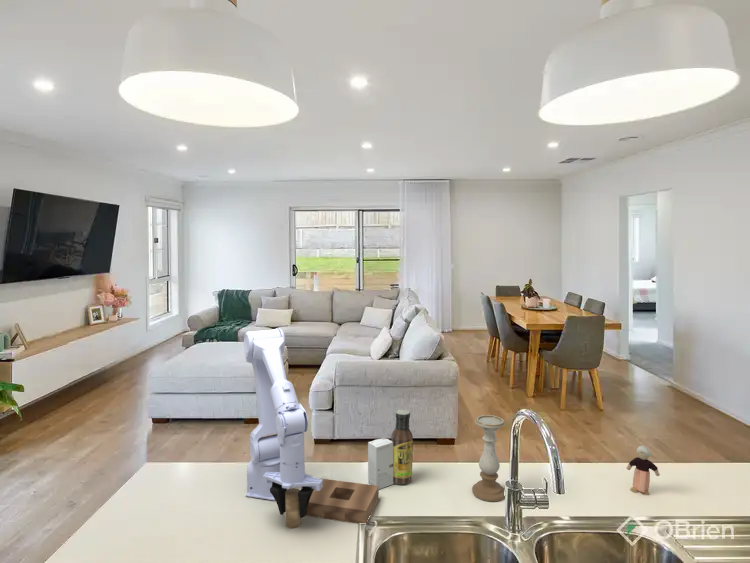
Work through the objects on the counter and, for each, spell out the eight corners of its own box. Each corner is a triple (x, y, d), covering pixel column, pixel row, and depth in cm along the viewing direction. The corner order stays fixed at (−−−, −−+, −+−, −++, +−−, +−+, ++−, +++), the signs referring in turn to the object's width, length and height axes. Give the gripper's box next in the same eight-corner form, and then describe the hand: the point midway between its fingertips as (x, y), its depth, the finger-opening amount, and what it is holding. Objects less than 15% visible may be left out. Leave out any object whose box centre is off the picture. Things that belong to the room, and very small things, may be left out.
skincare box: (376, 490, 130) (376, 447, 129) (367, 483, 133) (366, 442, 132) (394, 483, 133) (394, 441, 132) (385, 477, 137) (384, 436, 136)
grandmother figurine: (626, 492, 128) (628, 446, 127) (625, 485, 132) (627, 441, 131) (659, 498, 125) (662, 451, 124) (657, 491, 129) (659, 445, 128)
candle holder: (512, 498, 126) (514, 423, 124) (483, 504, 123) (485, 428, 121) (493, 482, 134) (494, 412, 132) (465, 488, 131) (466, 416, 129)
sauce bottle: (398, 488, 131) (399, 417, 129) (385, 478, 136) (385, 410, 134) (417, 481, 134) (417, 412, 133) (403, 472, 140) (404, 406, 138)
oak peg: (283, 527, 113) (282, 494, 113) (289, 518, 117) (289, 487, 116) (297, 529, 112) (296, 497, 112) (303, 520, 116) (302, 489, 115)
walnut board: (303, 515, 118) (303, 501, 118) (321, 490, 130) (321, 478, 129) (366, 524, 114) (366, 510, 114) (378, 498, 126) (378, 485, 125)
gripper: (256, 463, 111) (257, 519, 112) (314, 471, 107) (315, 528, 109) (270, 450, 118) (271, 503, 119) (325, 457, 114) (326, 511, 115)
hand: (293, 514), depth 114 cm, fingers open, 5 cm apart
